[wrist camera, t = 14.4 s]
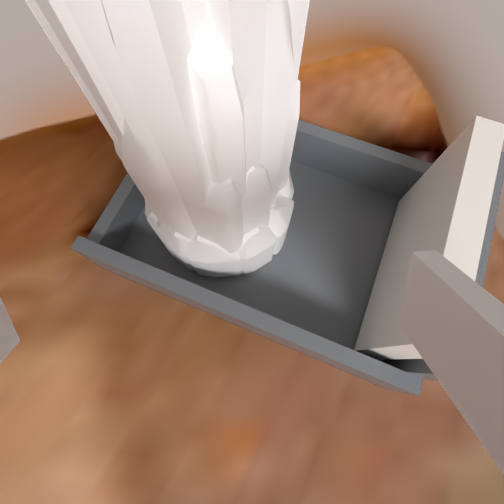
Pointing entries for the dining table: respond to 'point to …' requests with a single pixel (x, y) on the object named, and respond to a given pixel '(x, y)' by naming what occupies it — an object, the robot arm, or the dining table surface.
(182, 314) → the dining table surface
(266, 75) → the decorative vase
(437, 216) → the plate
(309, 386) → the dining table surface
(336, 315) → the grey tray
